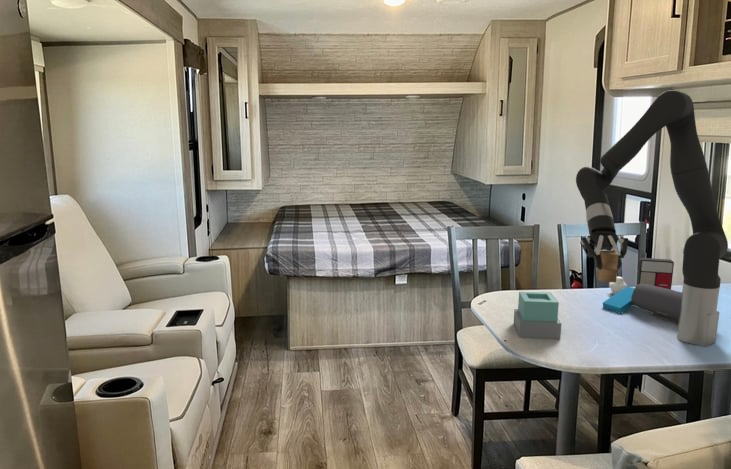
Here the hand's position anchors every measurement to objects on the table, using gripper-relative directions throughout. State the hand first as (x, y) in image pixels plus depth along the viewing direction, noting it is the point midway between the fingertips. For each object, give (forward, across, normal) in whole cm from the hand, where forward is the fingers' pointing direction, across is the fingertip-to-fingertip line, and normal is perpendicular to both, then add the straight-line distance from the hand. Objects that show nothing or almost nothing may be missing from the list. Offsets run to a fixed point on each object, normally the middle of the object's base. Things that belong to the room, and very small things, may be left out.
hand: (609, 268), depth 160 cm
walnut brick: (+2, 0, +4) cm, 5 cm away
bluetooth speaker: (+1, +27, +30) cm, 41 cm away
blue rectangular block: (-7, +18, +39) cm, 44 cm away
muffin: (-18, +20, +50) cm, 57 cm away
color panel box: (-15, +31, +46) cm, 57 cm away
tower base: (+13, -19, +18) cm, 29 cm away
